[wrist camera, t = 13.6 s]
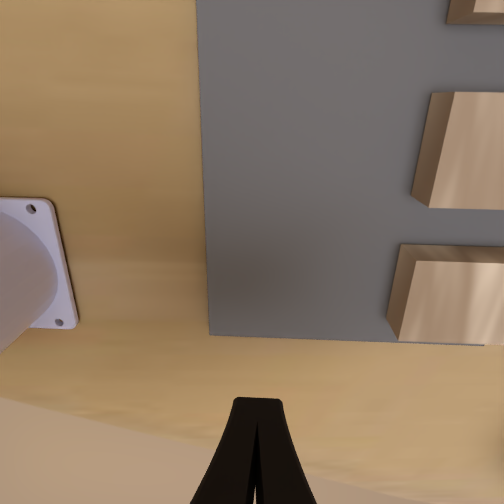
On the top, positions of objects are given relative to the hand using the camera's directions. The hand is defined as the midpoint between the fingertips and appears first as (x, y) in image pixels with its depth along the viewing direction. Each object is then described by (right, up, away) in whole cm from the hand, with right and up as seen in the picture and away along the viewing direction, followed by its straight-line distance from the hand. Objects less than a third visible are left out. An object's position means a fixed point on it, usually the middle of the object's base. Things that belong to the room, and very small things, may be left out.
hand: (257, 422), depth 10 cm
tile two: (+7, +9, +4) cm, 13 cm away
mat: (+6, +10, +6) cm, 13 cm away
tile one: (+7, +3, +7) cm, 11 cm away
